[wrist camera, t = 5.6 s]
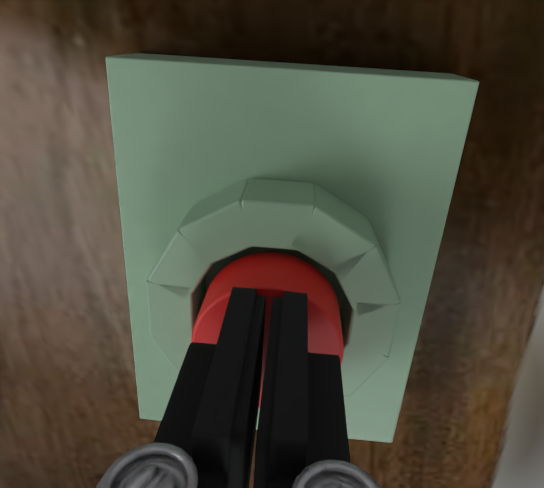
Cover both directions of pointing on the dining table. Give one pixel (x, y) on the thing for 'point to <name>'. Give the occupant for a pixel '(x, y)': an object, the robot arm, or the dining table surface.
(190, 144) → the green push button box
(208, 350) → the robot arm
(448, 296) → the dining table surface
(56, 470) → the dining table surface
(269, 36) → the dining table surface
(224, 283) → the power button
